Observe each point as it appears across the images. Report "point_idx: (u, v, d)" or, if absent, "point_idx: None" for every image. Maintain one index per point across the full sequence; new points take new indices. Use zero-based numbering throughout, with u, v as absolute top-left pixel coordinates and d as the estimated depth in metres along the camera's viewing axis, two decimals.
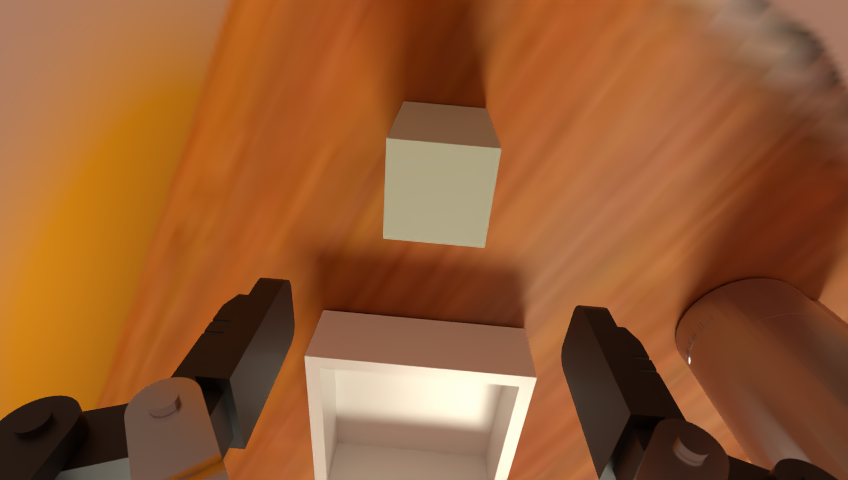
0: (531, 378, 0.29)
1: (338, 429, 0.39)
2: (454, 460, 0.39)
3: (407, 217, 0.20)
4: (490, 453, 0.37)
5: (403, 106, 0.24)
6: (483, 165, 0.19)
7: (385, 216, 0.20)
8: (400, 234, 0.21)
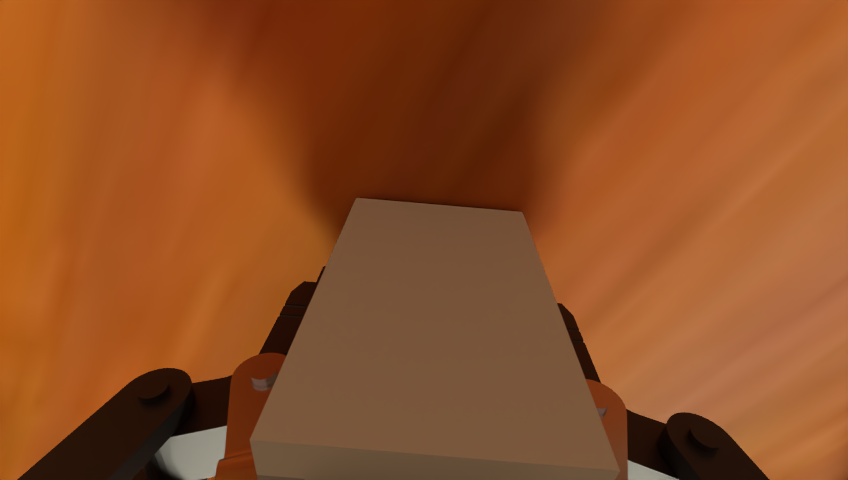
0: None
1: None
2: None
3: None
4: None
5: (351, 219, 0.11)
6: None
7: None
8: None
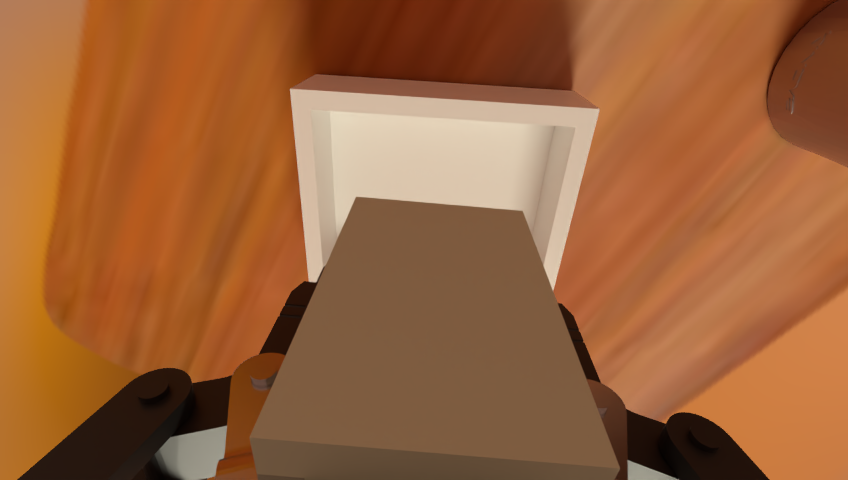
0: (592, 110, 0.22)
1: None
2: None
3: None
4: None
5: (351, 218, 0.11)
6: None
7: None
8: None
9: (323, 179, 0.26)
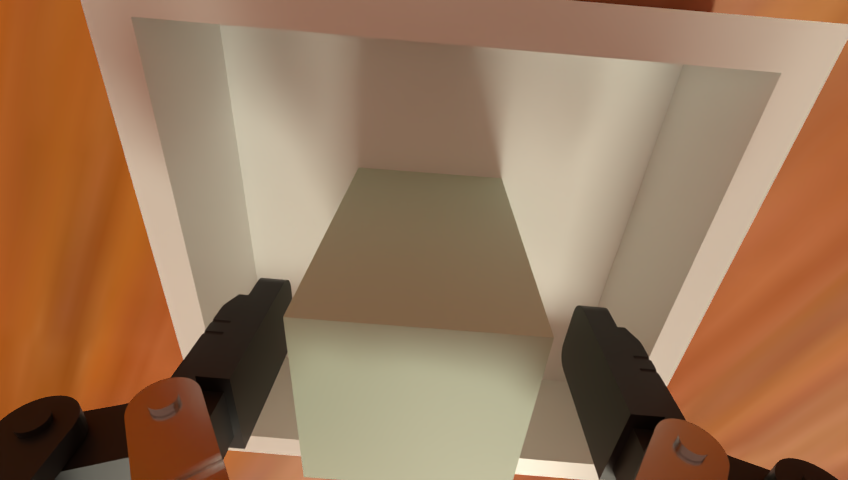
0: (834, 30, 0.09)
1: None
2: None
3: (347, 447, 0.10)
4: None
5: (354, 183, 0.13)
6: (511, 367, 0.08)
7: (303, 445, 0.10)
8: (338, 471, 0.10)
9: (205, 186, 0.13)
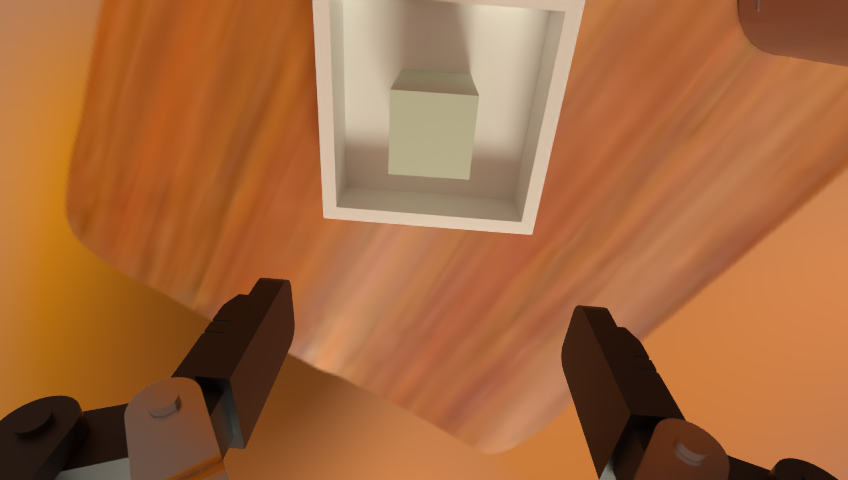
0: None
1: (347, 164, 0.34)
2: (479, 200, 0.35)
3: (407, 155, 0.25)
4: (521, 178, 0.33)
5: (401, 72, 0.29)
6: (466, 110, 0.24)
7: (389, 154, 0.25)
8: (402, 169, 0.26)
9: (336, 70, 0.28)
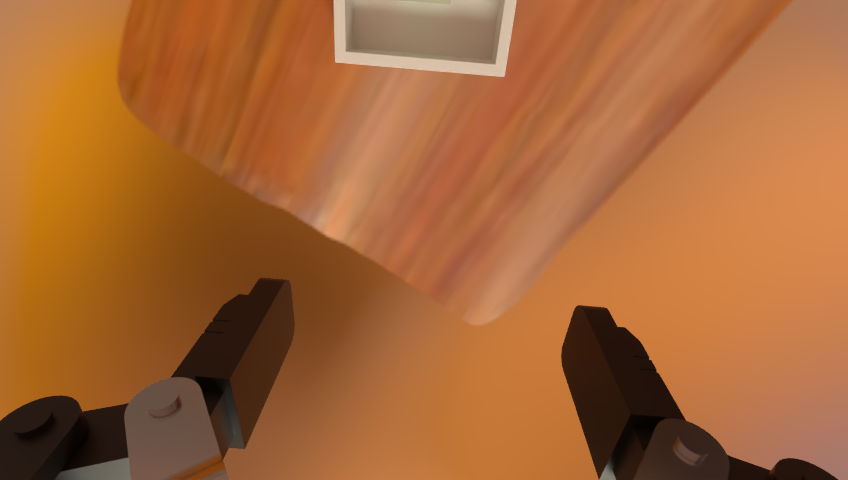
0: None
1: (354, 26, 0.42)
2: (462, 57, 0.42)
3: None
4: (496, 33, 0.40)
5: None
6: None
7: None
8: None
9: None
